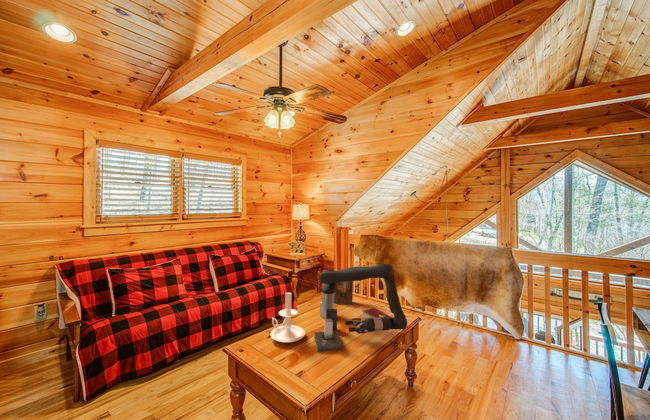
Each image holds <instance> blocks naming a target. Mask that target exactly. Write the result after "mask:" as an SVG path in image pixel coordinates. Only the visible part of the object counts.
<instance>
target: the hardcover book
mask: <svg viewBox="0 0 650 420" xmlns="http://www.w3.org/2000/svg"><path fill="white" fill-rule="evenodd" d="M361 311H362V316H363V317H365V318H392V317H393V316H390V315H389V314H387V313H385V312H383V311H382V310H380V309H378V308H376V307H371V308H367V309H362V310H361Z"/></svg>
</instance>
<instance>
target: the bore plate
mask: <svg viewBox="0 0 650 420" xmlns="http://www.w3.org/2000/svg"><path fill="white" fill-rule="evenodd" d="M313 339H314V343H315V347H316V351H317V353H319V352H333V351H343V350H344V349H343V347H344V346H343V344H344V342H343V340H342V338H341V336H340V333H339V331H338V330H337V331H332V340H324V331H315V332H314V338H313Z"/></svg>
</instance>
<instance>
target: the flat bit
mask: <svg viewBox="0 0 650 420" xmlns="http://www.w3.org/2000/svg"><path fill="white" fill-rule="evenodd" d="M325 319H332V321H333V327H332V331H338V308H334V309H326V318H325Z"/></svg>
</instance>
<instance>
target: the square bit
mask: <svg viewBox="0 0 650 420" xmlns="http://www.w3.org/2000/svg"><path fill="white" fill-rule="evenodd" d="M323 319H324V320H323V321H324V323H323V328H324V329H323V332H324V340H332V327H333V321H332V319H326V318H323Z"/></svg>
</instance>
